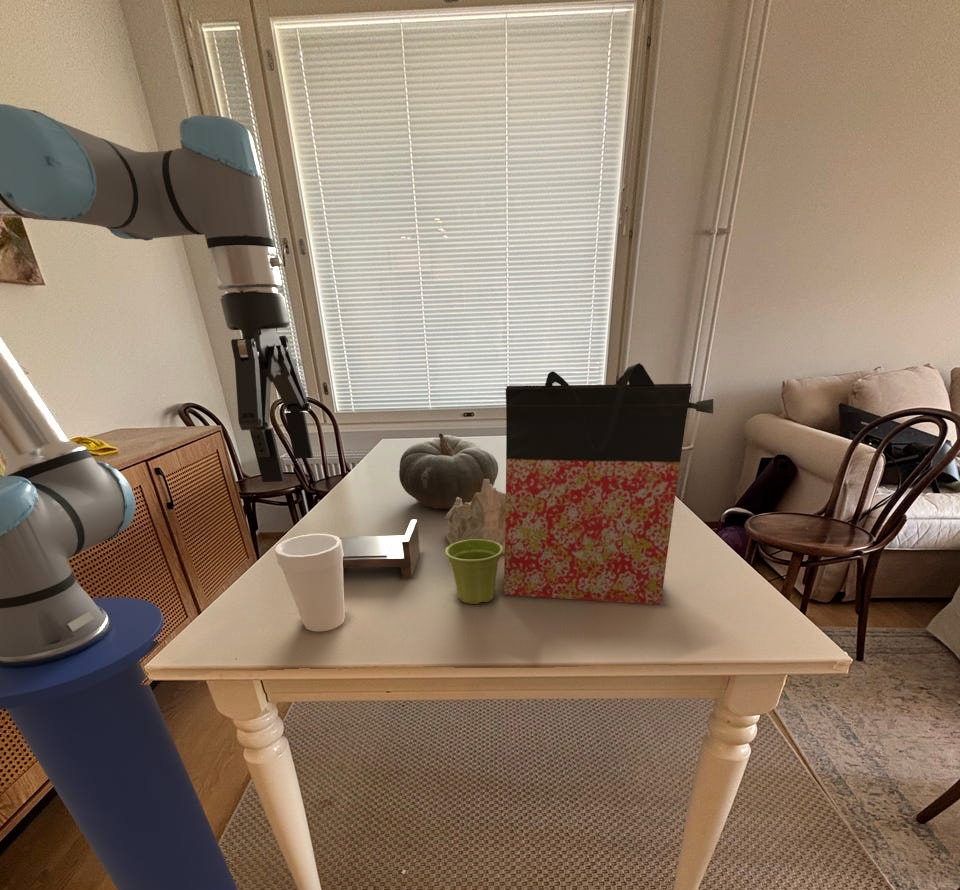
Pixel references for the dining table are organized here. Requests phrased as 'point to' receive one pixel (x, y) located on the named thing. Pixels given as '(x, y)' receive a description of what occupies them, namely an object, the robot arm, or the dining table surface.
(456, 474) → the gourd
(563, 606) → the dining table surface
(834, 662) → the dining table surface
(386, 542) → the shelf
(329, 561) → the foam cup
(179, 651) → the dining table surface
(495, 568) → the plant pot
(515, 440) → the gift bag
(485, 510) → the ceramic cottage
